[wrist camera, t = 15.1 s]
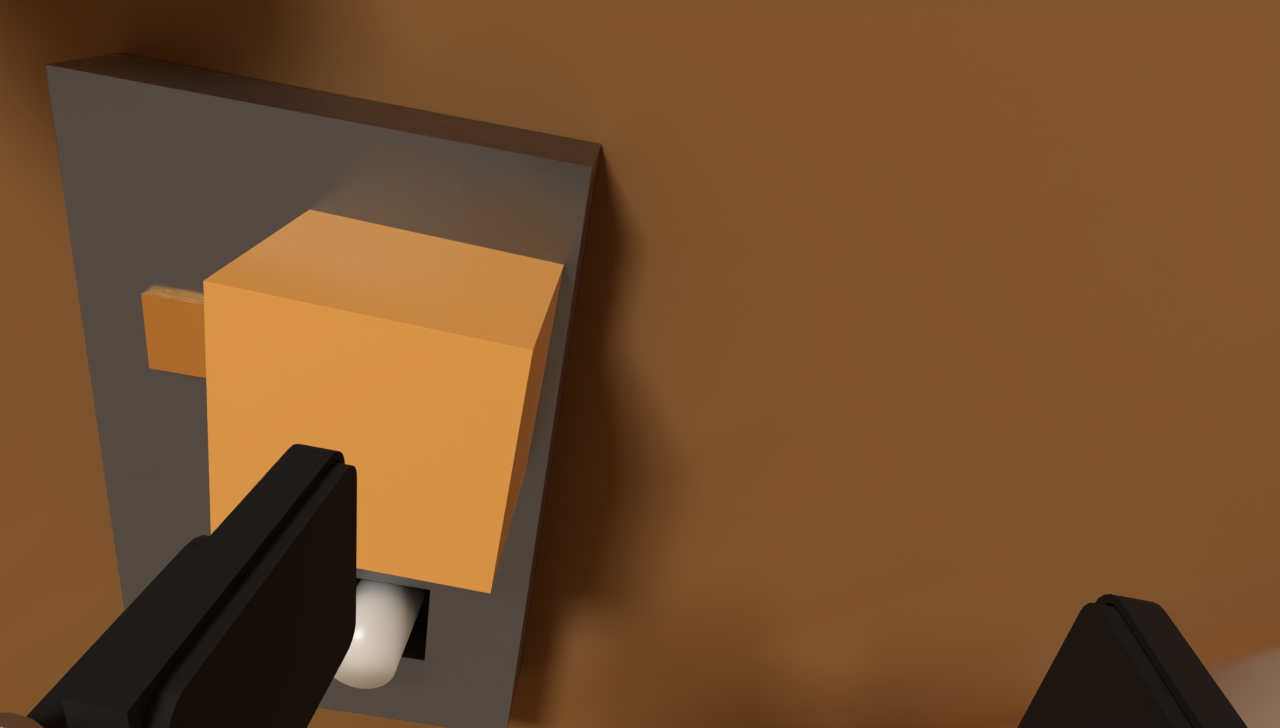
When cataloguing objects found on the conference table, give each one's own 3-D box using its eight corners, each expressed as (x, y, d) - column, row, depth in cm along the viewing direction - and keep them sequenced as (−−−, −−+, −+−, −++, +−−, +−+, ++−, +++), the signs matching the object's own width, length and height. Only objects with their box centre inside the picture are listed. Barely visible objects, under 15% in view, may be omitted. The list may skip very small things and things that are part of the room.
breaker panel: (601, 144, 24) (590, 169, 21) (519, 674, 33) (504, 742, 30) (118, 52, 23) (36, 65, 20) (178, 620, 33) (129, 685, 30)
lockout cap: (563, 264, 22) (532, 350, 17) (526, 470, 25) (490, 593, 20) (309, 209, 22) (202, 280, 17) (302, 426, 25) (210, 540, 20)
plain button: (426, 571, 29) (397, 642, 26) (422, 620, 30) (394, 693, 27) (359, 560, 29) (322, 630, 26) (358, 609, 30) (323, 682, 27)
